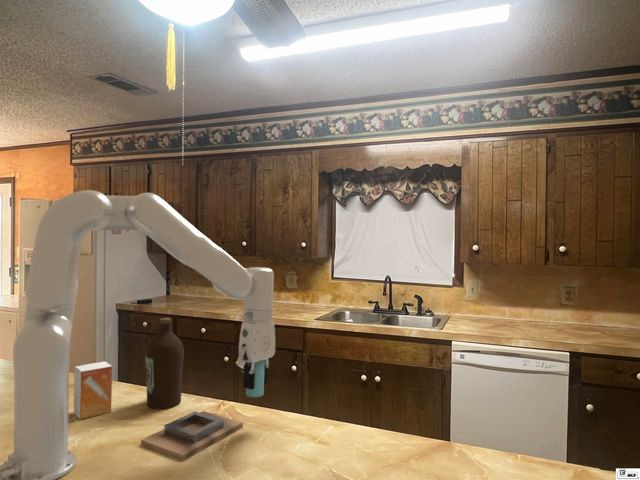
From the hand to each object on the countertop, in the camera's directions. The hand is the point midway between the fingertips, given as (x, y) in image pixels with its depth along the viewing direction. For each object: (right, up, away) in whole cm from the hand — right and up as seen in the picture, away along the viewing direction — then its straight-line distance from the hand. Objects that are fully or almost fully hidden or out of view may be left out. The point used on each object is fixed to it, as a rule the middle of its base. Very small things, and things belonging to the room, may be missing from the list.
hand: (255, 384), depth 111 cm
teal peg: (0, -2, 0) cm, 2 cm away
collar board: (-14, -11, -5) cm, 19 cm away
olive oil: (-29, -11, +15) cm, 35 cm away
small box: (-46, -11, +8) cm, 48 cm away
